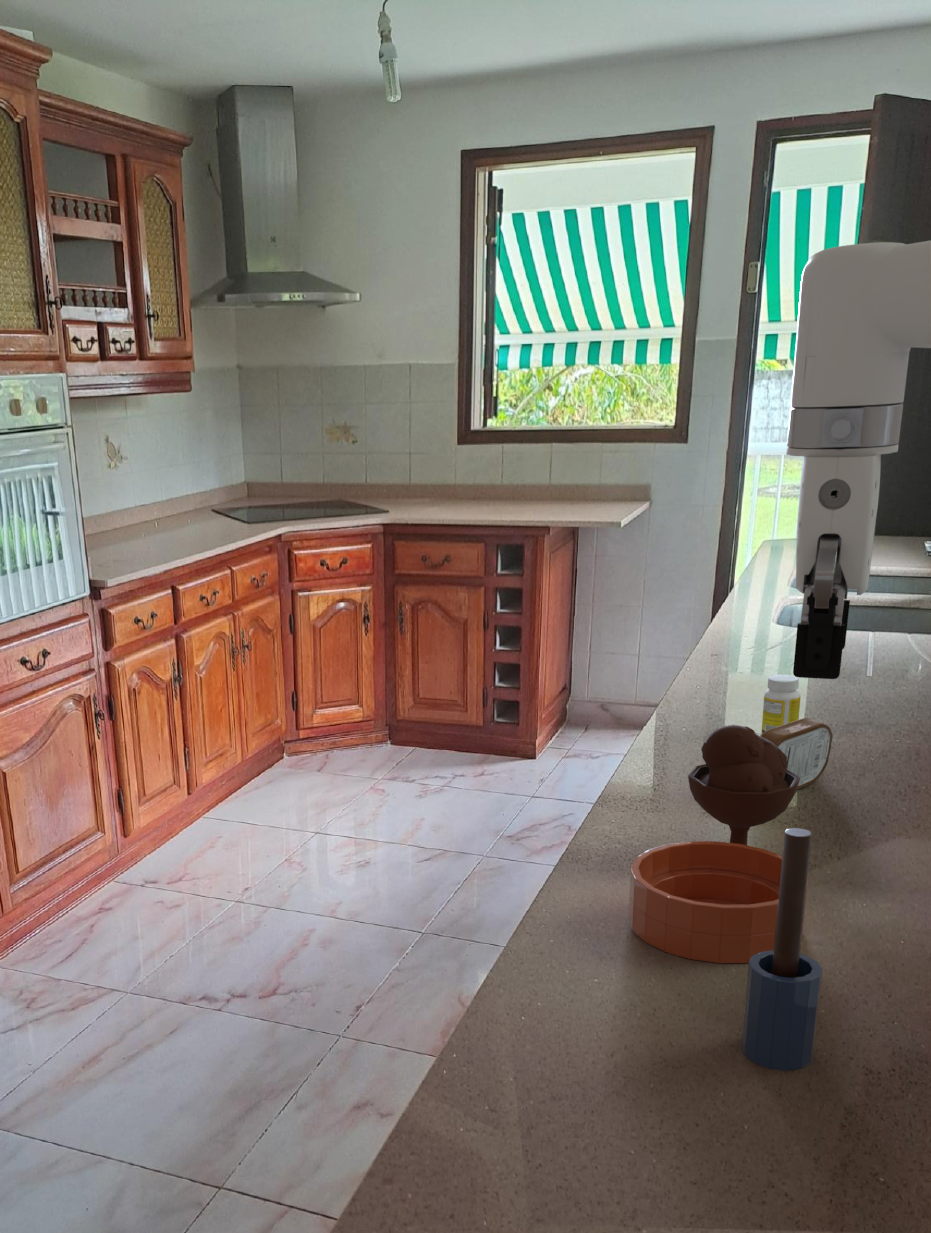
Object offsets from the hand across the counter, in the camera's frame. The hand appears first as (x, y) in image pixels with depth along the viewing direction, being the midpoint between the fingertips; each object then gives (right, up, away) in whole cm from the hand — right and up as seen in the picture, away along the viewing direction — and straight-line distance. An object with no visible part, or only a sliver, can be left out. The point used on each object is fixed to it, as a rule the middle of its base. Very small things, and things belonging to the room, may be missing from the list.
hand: (819, 662), depth 91 cm
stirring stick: (-4, -30, -2) cm, 30 cm away
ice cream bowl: (+6, -17, +34) cm, 38 cm away
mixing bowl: (-2, -23, +19) cm, 29 cm away
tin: (+19, -9, +53) cm, 57 cm away
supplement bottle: (+26, -1, +74) cm, 78 cm away
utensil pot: (-4, -31, -2) cm, 31 cm away
